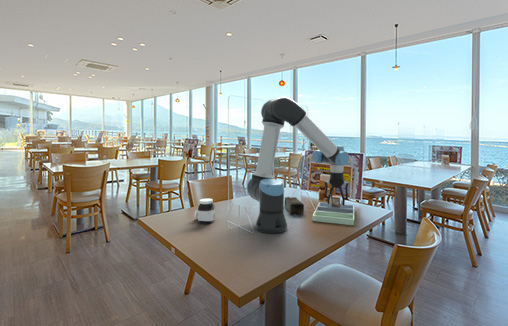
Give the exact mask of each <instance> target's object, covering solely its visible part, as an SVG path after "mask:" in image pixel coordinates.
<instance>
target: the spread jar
mask: <svg viewBox="0 0 508 326" xmlns="http://www.w3.org/2000/svg"><path fill="white" fill-rule="evenodd" d="M213 202H214V200H213V198H209V197H208V198H201V199H199V204H198V206H197V208H196V210H195V211H194V214H193V215H194V218H196V219H197V221H198V222H199V223H200V224H203V223H208V224H212V223H213V222H214V221H215V219H216V218H215V217H216V210H215V209H216V208H215V207H216V206H215V204H214V203H213ZM211 222H212V223H211Z"/></svg>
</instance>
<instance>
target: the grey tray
mask: <svg viewBox="0 0 508 326" xmlns="http://www.w3.org/2000/svg"><path fill="white" fill-rule="evenodd" d="M317 206H319V207H329V204H328V202H321V201H319V202H318V204H317ZM331 208H338V207H332V202H331ZM340 208H341V203H340ZM342 209H354V210H355V205H354V204H346V203H345V205H343V206H342Z"/></svg>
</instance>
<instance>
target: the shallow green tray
mask: <svg viewBox="0 0 508 326" xmlns="http://www.w3.org/2000/svg"><path fill="white" fill-rule="evenodd" d="M315 211H323V212H333V213H344V214H354V215H355V208H354V209H342V208H331V207H319V206H318V205H317V206H316V208H315V210H314V212H315Z"/></svg>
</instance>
